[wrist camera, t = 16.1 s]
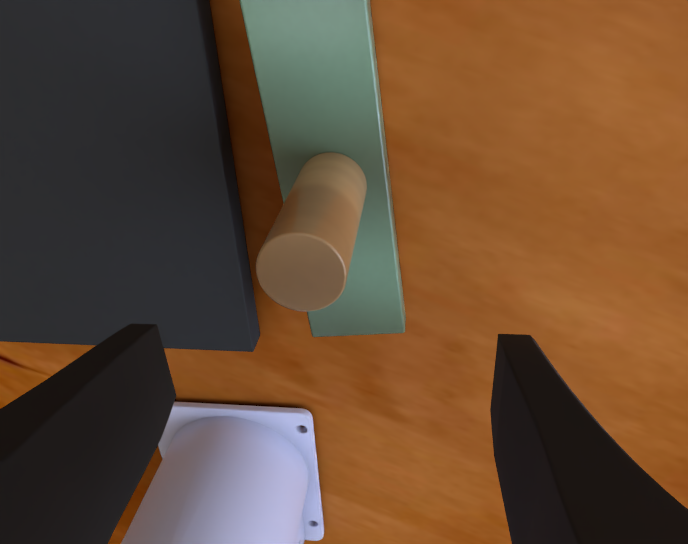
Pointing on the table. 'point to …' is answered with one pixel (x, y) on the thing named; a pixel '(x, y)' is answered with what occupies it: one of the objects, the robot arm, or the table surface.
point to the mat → (118, 177)
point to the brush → (326, 166)
